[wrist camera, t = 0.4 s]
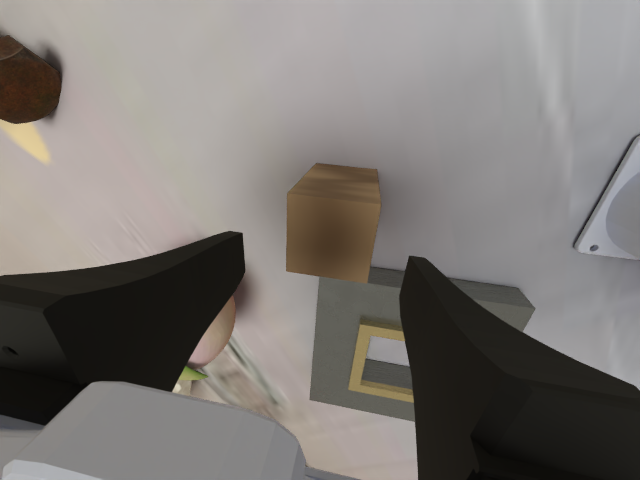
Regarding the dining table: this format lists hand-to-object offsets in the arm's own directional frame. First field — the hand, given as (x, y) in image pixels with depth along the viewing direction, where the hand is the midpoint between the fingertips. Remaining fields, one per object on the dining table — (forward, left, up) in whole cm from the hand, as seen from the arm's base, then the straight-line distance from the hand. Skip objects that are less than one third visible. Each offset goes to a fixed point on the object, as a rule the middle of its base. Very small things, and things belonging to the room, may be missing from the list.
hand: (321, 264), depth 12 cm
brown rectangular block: (0, 0, -10) cm, 10 cm away
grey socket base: (-7, +14, -10) cm, 19 cm away
